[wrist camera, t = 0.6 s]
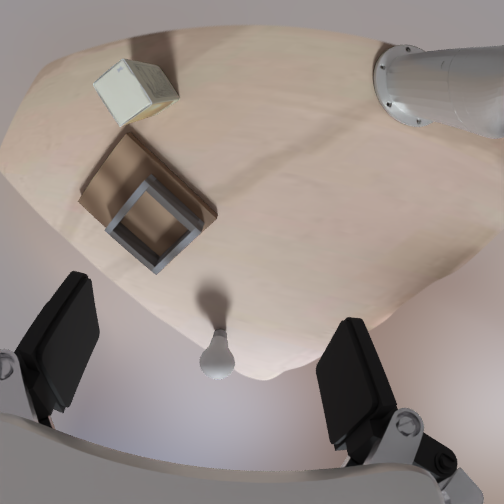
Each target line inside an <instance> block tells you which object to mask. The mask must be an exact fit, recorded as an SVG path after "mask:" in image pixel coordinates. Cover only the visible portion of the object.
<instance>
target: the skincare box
mask: <svg viewBox="0 0 504 504" xmlns="http://www.w3.org/2000/svg"><path fill="white" fill-rule="evenodd" d="M93 86H94V87H95V89H96V91H97V93H98V95H99V96H100V98H101V100H102V101H103V103H104V104H105V106H106V107H107V109H108V110H109V112H110V113H111V115H112V116H113V118H114V119H115V121H116V122H117V123H118V125H119V126H120V127H121V126H124V125H127V124H130V123H133V122H135V121H139V120H142V119H145V118H148V117H151V116H154V115H156V114H158V113H160V112H161V111H163V110H164V109H166V108H167V107H169V106H170V105H172V104H173V103H175V102H177V101H178V100H179V96H178V94H177V93H176V91H175V89H174V88H173V86H172V85H171V83H170V82H169V80H168V79H167V77H166V76H165V74H164V73H163V71H162V70H161V69H160V67H159V66H158V65H153V64H148V63H144V62H139V61H134V60H128V59H122V60H120V61H119V62H118V63H116V64H115V65H114V66H113V67H111V68H110V69H109V70H108V71H106V72H105V73H104V74H103V75H102V76H101V77H99V78H98V79H97V80H96V81H95V82H94V83H93Z"/></svg>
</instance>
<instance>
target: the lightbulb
mask: <svg viewBox="0 0 504 504" xmlns="http://www.w3.org/2000/svg"><path fill="white" fill-rule="evenodd" d="M234 366H235V361H234V357H233V355H232V353H231V352H230V350H229V348H228V341H227V333H226V332H225V331H224V330H222V329H218V330H216V331H215V332H214V334H213V338H212V340H211V343H210V345H209V347H208V348H207V349H206V350H205V351H204V352H203V353H202V355H201V357H200V367H201V369H202V371H203V373H204V374H205V375H206V376H208V377H209V378H212V379H217V380H219V379H224V378H226V377H227V376H229V375H230V374H231V373H232V371H233V369H234Z"/></svg>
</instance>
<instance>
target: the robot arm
mask: <svg viewBox="0 0 504 504" xmlns="http://www.w3.org/2000/svg"><path fill="white" fill-rule="evenodd" d="M406 50H407V51H406ZM380 66H382V69H381V68H380ZM373 78H374V87H375V91H376V95H377V97H378V99H379V102H380V103H381V105H382V106H383V108H384V109H385V110H386V112H387V113H388V114H389V115H390V116H391V117H393V118H394V119H395V120H397V121H399V122H400V123H402V124H405V125H409V126H413V127H422V126H427V125H429V124H431V123H433V122H438V123H442V124H445V125H449V126H452V127H456V128H459V129H462V130H465V131H469V132H472V133H475V134H478V135H481V136H484V137H487V138H494V139H498V138H503V137H504V45H502V46H490V47H471V48H459V49H447V50H438V51H428V52H425V51H423V50H422V49H420V48H418V47H415V46H411V45H398V46H394V47H392V48H389V49H388V50H386V51H385V52H384V53H383V54H382V55H381V56H380V57H379V59H378V61H377V63H376V66H375V69H374V77H373ZM387 103H388V105H387ZM99 333H100V331H99V325H98V319H97V314H96V308H95V303H94V295H93V288H92V281H91V279H88V276H87V275H86V274H84V273H80V272H76V271H72V272H71V273H70V274H69V275H68V276H67V278H66V279H65V280H64V282H63V283H62V284H61V286H60V287H59V288H58V290H57V291H56V292H55V294H54V295H53V296H52V298H51V299H50V301H49V302H47V303H46V305H45V306H44V307H43V309H42V310H41V312H40V313H39V315H38V316H37V318H36V319H35V320H34V322H33V324H32V325H31V327H30V328H29V329H28V331H27V333H26V334H25V336H24V337H23V339H22V340H21V342H20V344H19V345H18V347H17V349H16V350H15V352H12V351H10V350H7V349H0V504H483V500H484V497H483V493H482V491H481V490H480V489H479V488H478V487H477V485H476V484H475V483H474V482H473V481H472V480H471V479H470V478H469V476H468V475H467V474H466V473H465V472H464V471H463V470H462V469H461V468H458V469H457V459H456V456H455V454H454V453H453V451H452V450H450V449H449V448H447V447H446V446H444V445H442V444H441V443H439V442H438V441H436V440H435V439H433V438H431V437H430V436H428V435H426V434H425V433H424V432H423V431H424V424H423V421H422V419H421V417H420V416H419V414H418V413H416V412H415V411H413V410H411V409H409V408H401V409H397V406H396V405H397V403H396V400H395V398H394V395H393V392H392V390H391V387H390V385H389V382H388V379H387V377H386V374H385V372H384V369H383V367H382V364H381V362H380V359H379V357H378V354H377V352H376V350H375V347H374V345H373V342H372V340H371V338H370V335H369V333H368V331H367V328H366V326H365V324H364V321H363V320H362V319H361V318H351V317H347V318H346V319H345V320H344V321H341V323H340V324H339V326H338V328H337V330H336V332H335V334H334V335H333V337H332V339H331V341H330V343H329V344H328V346H327V348H326V350H325V352H324V353H323V355H322V357H321V359H320V360H319V362H318V364H317V367H316V375H317V379H318V384H319V389H320V394H321V399H322V403H323V408H324V413H325V418H326V423H327V428H328V434H329V439H330V442H331V444H334V447H335V451H337V450H347V452H348V457H347V458H346V460H345V461H344V463H343V465H342V466H341V468H332V469H319V470H305V471H276V472H275V471H240V470H225V469H214V468H205V467H197V466H189V465H182V464H176V463H171V462H165V461H159V460H155V459H150V458H145V457H141V456H137V455H132V454H128V453H124V452H121V451H117V450H114V449H110V448H107V447H103V446H100V445H97V444H94V443H91V442H88V441H85V440H82V439H79V438H76V437H73V436H71V435H68V434H65V433H63V432H60V431H58V430H56V429H55V427H54V424H53V422H52V419H51V416H50V415H51V414H52V411H53V409H54V410H57V411H59V412H62V413H64V410H65V407H69V406H70V404H71V402H72V400H73V397H74V394H75V392H76V389H77V387H78V384H79V382H80V379H81V377H82V375H83V372H84V370H85V368H86V365H87V363H88V361H89V358H90V356H91V354H92V352H93V349H94V347H95V345H96V343H97V341H98V338H99Z"/></svg>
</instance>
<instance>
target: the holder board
mask: <svg viewBox="0 0 504 504" xmlns="http://www.w3.org/2000/svg"><path fill="white" fill-rule="evenodd" d="M78 202H79V203H80V204H81V205H82V206H83V207H84V208H85V209H86V210H87V211H88V212H89V213H90V214H92V215H93V216H94V217H95V218H96V219H97V220H98V221H99V222H100V223H101V224H102V225H103V226H105V227H106V229H105V231H106V232H107V233H108V234H109V235H110V236H111V237H112V238H114V239H115V240H116V241H117V242H118V243H119V244H120V245H121V246H123V247H124V248H125V249H126V250H127V251H128V252H129V253H131V254H132V255H133V256H134V257H135V258H137V259H138V260H139V261H140V262H141V263H142V264H144V265H145V266H146V267H147V268H148V269H150V270H151V271H152V272H153V273H154V274H156V275H157V274H158V273H159V272H160V271H161V270H162V269H163V268H164V267H165V266H166V265H167V264H168V263H170V262H171V261H172V260H173V259H174V258H175V257H176V256H177V255H178V254H179V253H180V252H181V251H182V250H183V249H184V248H186V247H187V246H188V245H189V244H190V243H191V242H192V241H193V240H194V239H195V238H196V237H197V236H198V235H200V234H201V233H202V232H203V231H204V230H205V229H206V228H207V227H208V226H209V225H211V224H212V223H213V222H214V221H215V220H216V219H217V216H218V215H217V214H216V213H215V212H214V211H213V210H212V209H211V208H210V207H209V206H208V205H207V204H206V203H205V202H204V201H203V200H202V199H200V198H199V197H198V196H197V195H196V194H195V193H194V192H193V191H192V190H191V189H190V188H189V187H188V186H187V185H186V184H185V183H184V182H182V181H181V180H180V179H179V178H178V177H177V176H176V175H175V174H174V173H173V172H172V171H171V170H170V169H169V168H168V167H167V166H165V165H164V164H163V163H162V162H161V161H160V160H159V159H158V158H157V157H156V156H155V155H154V154H153V153H152V152H151V151H149V150H148V149H147V148H146V147H145V146H144V145H143V144H142V143H141V142H140V141H139V140H138V139H137V138H136V137H135V136H134V135H132V134H131V133H130V132H129V133H127V134H125V136H124V137H123V138H122V139H121V141H120V142H119V143H118V144H117V146H116V147H115V148H114V150H113V151H112V152H111V154H110V155H109V156H108V158H107V159H106V161H105V162H104V163H103V165H102V166H101V167H100V169H99V170H98V172H97V173H96V175H95V176H94V178H93V179H92V181H91V182H90V184H89V185H88V187H87V188H86V190H85V191H84V193H83V194H82V196H81V197H80V199H79V201H78Z"/></svg>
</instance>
